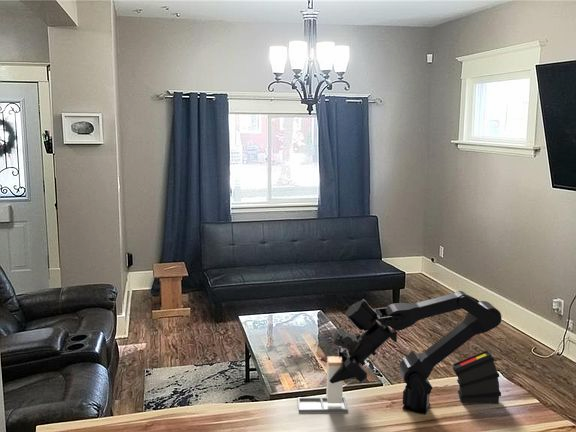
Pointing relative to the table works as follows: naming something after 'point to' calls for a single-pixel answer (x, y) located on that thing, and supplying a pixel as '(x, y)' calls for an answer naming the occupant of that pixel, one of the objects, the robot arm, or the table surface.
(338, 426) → the table surface
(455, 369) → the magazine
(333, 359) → the block
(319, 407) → the organiser
